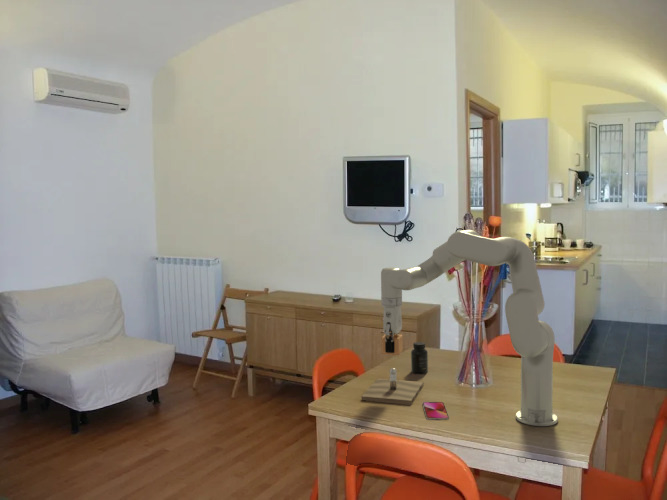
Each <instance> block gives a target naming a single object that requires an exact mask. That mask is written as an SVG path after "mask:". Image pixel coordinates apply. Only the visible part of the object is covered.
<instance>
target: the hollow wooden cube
mask: <svg viewBox="0 0 667 500" xmlns="http://www.w3.org/2000/svg"><path fill="white" fill-rule="evenodd" d="M390 336H391V338H392V335H390ZM403 337H404V336H403V334H399V335H397V334H394V340H393V342H394V353H387V352H386V351H385V334H384V335H383V336H382V337H381V340H380V341H381V342H380V343H381V355H391V356H400V354H402V352H403V350H404V349H403V347H404V346H403V345H404V344H403V343H404V338H403Z"/></svg>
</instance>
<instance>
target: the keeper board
mask: <svg viewBox="0 0 667 500" xmlns="http://www.w3.org/2000/svg"><path fill="white" fill-rule="evenodd" d="M423 387H424V382H423V381H413V380H403V379H402V380H401V379H397V389H396V390H391V389H390V378H389V379H388V378H376V380H375V381H374V382H373V383H372V384H371V385H370V387H368V389H367V390H365V392H364V393H363V394H362V395H361V398H360V399H361V401H362V400H366V401H365V402H373V401H375V403H383V404H384V403H388V404H395V403H396V404H397V405H407V406H408V405H409V406H412V405H413V403H414V402H415V400H416V398H417V397H418V395H419V394H420V392H421V390H422V389H423ZM396 404H395V405H396Z"/></svg>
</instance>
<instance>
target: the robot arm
mask: <svg viewBox="0 0 667 500" xmlns="http://www.w3.org/2000/svg"><path fill="white" fill-rule="evenodd" d="M464 261H469V262H473V263H476V264H480V265H483V266H489V267H498V266H501V265H504V264H507V265H508V267H509V280H510V282H511V287H512V293H511V294H510V295H509V296H508V297H507V298H506V301H505V305H504V312H505V318H506V322H507V328H508V332H509V337H510V341H511V345H512V348H513V349H514V351H515V352H516V353H517V354H518V356H519V355H520V356H521V358H520V410H518V411H517V412H516V414H515V419H516V420H517V421H518V422H520V423H522V424H525V425H528V426H532V427H550V426H553V425H555V424H557V423H558V420H559V419H558V418H559V417H558V416H557V415H556V414H555V413H553V390H554V389H553V387H554V386H553V381H554V380H553V373H554V371H553V369H554V367H553V365H554V364H553V363H554V351H555V339H556V338H555V332H554V330H553V328H552V326H551V325H549V324H548V323H547V322H546V321H543V320H539V315H540V314H541V313H542V312H543V311H544V309H545V299H544V295H543V291H542V286H541V281H540V277H539V272H538V269H537V263H536V260H535V255H534V253H533V251H532V250H531V248H530V247H529V246H528V245H527V244H526V243H525V242H524V241H522V240H521V239H518V238H515V237H510V236H501V237H496V238H490V237H484V236H481V235H480V234H479V232H477V231H475V230H473V229H465V230H458V231H455V232H453V233H451V235H450V236H449V237H448V239H447V241H445V242H444V243H442V244H440V245H439V246H438V247H435V248H434V249H433V250H432V255H431V256H430V257H429V258H428V259H426V260H424V261H423V262H421V263H420V264H418V265H416V266H412V267H408V268H405V269H401V268H399V267H385V268H382V269H381V271H380V286H381V287H380V291H381V292H380V295H381V296H380V298H381V300H380V301H381V305H380V306H381V307H383V315H382V316H383V324H382V327H383V333H384V335H385V351H386V352H387V353H394V342H393V340H394V334H397V335H400V332H401V331H402V329H403V321H402V320H403V318H402V317H403V316H402V307H403V291H411V290H414V289H417V288H422V287H424V286H426V285H427V284H429V283H431V282H433V281H434V280H436V279H438V278H439V277H441V276H442V275H444V274H445V273H447V272H448V271H449V270H451V269H453V268H454V267H456V266H457V265H460V264H461V263H463V262H464ZM390 335H392V338H391V336H390Z"/></svg>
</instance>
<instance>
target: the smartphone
mask: <svg viewBox="0 0 667 500" xmlns="http://www.w3.org/2000/svg"><path fill="white" fill-rule="evenodd" d="M422 409H423V411H424V416H425V418H426V420H430V421H432V420H435V421H437V420H441V421H442V420H445V421H446V420H450V416H449V413H448V411H447V408H446V404H445V403H444V402H442V401H423V402H422Z"/></svg>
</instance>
